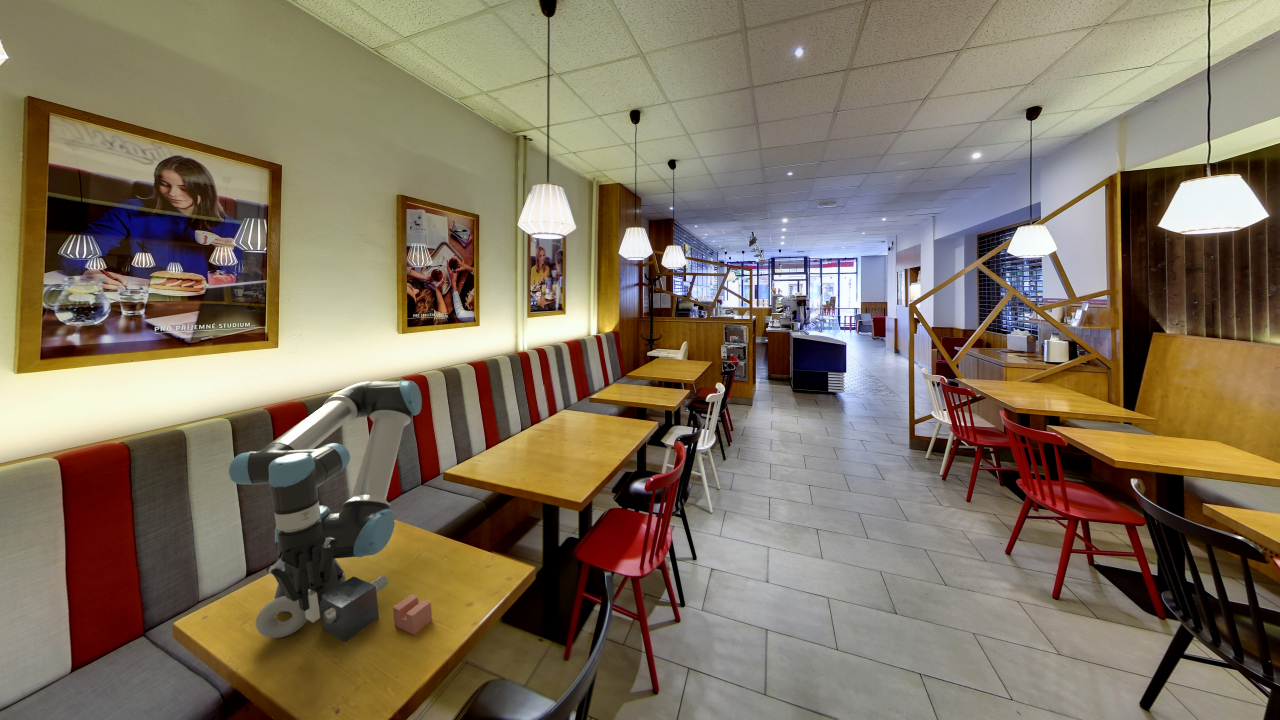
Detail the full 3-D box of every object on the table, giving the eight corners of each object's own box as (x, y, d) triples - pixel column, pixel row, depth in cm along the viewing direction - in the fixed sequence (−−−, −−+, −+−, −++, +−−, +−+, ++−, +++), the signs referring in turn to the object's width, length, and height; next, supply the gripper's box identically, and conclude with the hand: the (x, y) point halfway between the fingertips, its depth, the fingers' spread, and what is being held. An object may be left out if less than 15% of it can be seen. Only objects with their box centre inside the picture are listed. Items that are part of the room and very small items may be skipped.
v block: (394, 625, 99) (392, 607, 99) (413, 611, 104) (411, 594, 103) (413, 634, 97) (412, 616, 96) (432, 619, 101) (430, 601, 100)
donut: (256, 648, 93) (250, 609, 92) (261, 637, 96) (255, 600, 95) (310, 632, 98) (305, 595, 96) (313, 622, 101) (309, 586, 99)
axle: (324, 622, 96) (321, 610, 95) (381, 585, 108) (379, 574, 108) (331, 624, 94) (329, 612, 94) (388, 586, 107) (386, 576, 107)
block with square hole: (322, 629, 98) (318, 596, 97) (356, 607, 105) (353, 576, 104) (345, 642, 95) (341, 607, 93) (379, 618, 102) (375, 585, 101)
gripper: (273, 544, 81) (288, 645, 85) (341, 512, 93) (353, 603, 97) (253, 535, 84) (269, 634, 88) (322, 506, 96) (333, 594, 100)
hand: (313, 618), depth 92 cm, fingers closed
